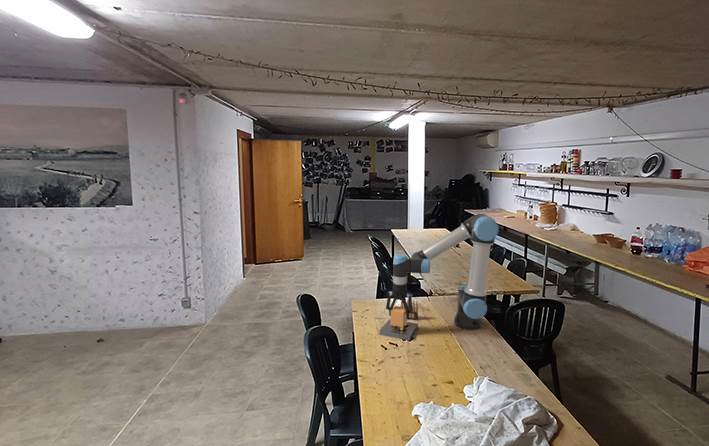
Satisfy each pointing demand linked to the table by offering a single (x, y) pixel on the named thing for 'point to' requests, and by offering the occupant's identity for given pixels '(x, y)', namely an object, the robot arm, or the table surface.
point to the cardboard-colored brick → (398, 317)
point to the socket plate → (396, 332)
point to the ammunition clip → (415, 311)
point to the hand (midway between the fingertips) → (399, 323)
